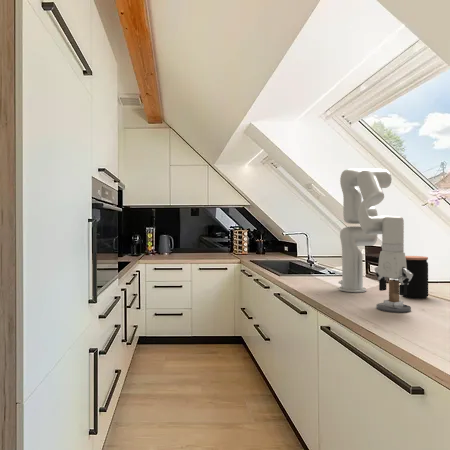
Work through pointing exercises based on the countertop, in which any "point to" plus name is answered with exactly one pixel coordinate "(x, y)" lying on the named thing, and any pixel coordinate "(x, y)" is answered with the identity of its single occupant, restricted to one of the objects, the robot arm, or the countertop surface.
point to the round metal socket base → (393, 307)
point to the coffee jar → (417, 277)
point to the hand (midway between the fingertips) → (392, 292)
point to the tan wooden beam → (394, 290)
